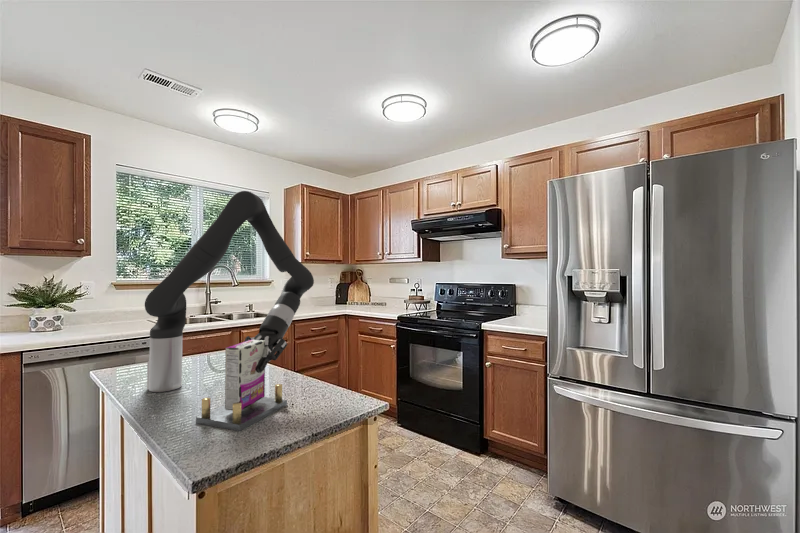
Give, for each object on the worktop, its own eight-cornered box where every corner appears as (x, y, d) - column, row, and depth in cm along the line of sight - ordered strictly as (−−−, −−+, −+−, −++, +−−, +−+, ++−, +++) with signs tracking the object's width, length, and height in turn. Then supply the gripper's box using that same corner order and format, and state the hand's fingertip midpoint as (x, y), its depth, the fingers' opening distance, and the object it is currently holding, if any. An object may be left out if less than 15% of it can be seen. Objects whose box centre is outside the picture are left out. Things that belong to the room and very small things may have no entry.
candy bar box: (249, 395, 105) (251, 338, 105) (265, 397, 104) (266, 340, 104) (222, 409, 94) (224, 346, 94) (239, 412, 93) (241, 348, 93)
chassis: (195, 423, 92) (196, 399, 92) (248, 399, 110) (248, 379, 110) (239, 431, 88) (239, 406, 88) (286, 405, 105) (287, 384, 105)
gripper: (252, 313, 112) (221, 361, 101) (291, 315, 107) (264, 365, 96) (264, 328, 117) (236, 375, 105) (302, 330, 112) (276, 379, 101)
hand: (249, 370), depth 101 cm, fingers closed on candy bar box, 5 cm apart
